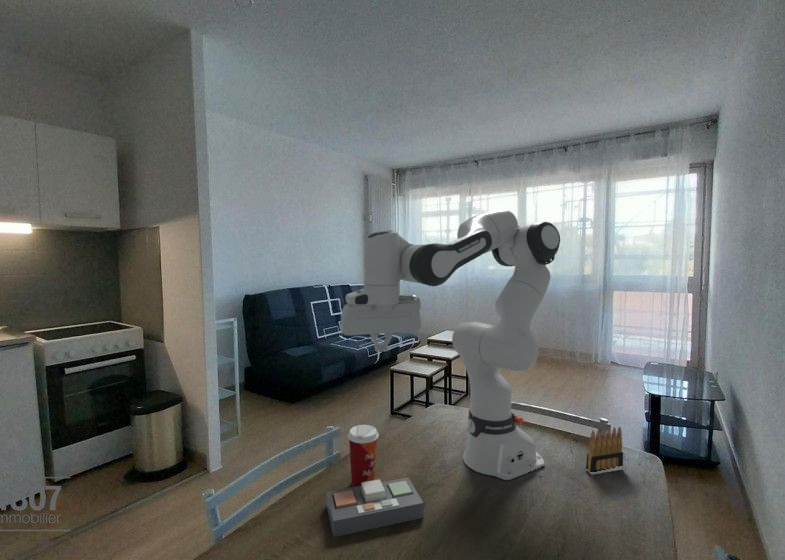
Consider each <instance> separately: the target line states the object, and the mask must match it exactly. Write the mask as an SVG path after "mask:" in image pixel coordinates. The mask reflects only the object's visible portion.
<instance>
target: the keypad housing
mask: <svg viewBox="0 0 785 560" xmlns="http://www.w3.org/2000/svg"><path fill="white" fill-rule="evenodd" d="M401 481H406V482H407V484H408V486H409V487H410V489H411V491H412V494H411V495H406V496H401V497H396V498H393V497H392V495H391V493H390V491H389V489H388V484H390V483H395V482H401ZM381 483H382V485H383V487H384V490H385V500H380V501H375V502H370V503H365V501H364V498H363V495H362V493H361V486H356V487H353V486H351V487H346V488H345V487H344V488H340V489H335V490H329V491H326V509H327V514H328V519H329V523H330V528H331V533H332V537H333V538H336V537H341V536H346V535H350V534H355V533H359V532H364V531H369V530H373V529H377V528H382V527H387V526H391V525H396V524H397V525H398V524H401V523H405V522H410V521H415V520H416V521H417V520H419V519H423V518H424V506H425V505H424V501H423V499H422V498H421V496H420V495H419V493H418V491H417V490H416V487H414V485H413V483H412V481H411V479H410V477H402V478H396V479H391V480H384V481H381ZM351 490H353V493H354V496H355V499H356V502H357V505H354V506H349V507H344V508H339V509H335V505H334V501H333V494H334V493H339V492H345V491H351Z"/></svg>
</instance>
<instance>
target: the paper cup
mask: <svg viewBox="0 0 785 560" xmlns="http://www.w3.org/2000/svg"><path fill="white" fill-rule="evenodd" d="M347 438H348V439H349V440H348V441H349V460H350V461H349V462H350V475H351V477H350V478H351V487H356V486H361V483H362V482H368V481H373V480H375V476H376V474H375V473H376V460H377V447H378V445H377V444H378V439H379V433H378V431H377V428H376V427H374V426H372V425H369V424H359V425H355V426H353V427H351V428H350V430H349V433H348V435H347Z"/></svg>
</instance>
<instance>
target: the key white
mask: <svg viewBox="0 0 785 560" xmlns="http://www.w3.org/2000/svg"><path fill="white" fill-rule="evenodd" d="M381 482H382V481H381V479H374V480H373V481H368V482H362V483H361V493H362V495H363V498H364V501H365V503H370V502H375V501H380V500H385V490H384V487H383V485H382V483H381Z"/></svg>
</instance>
